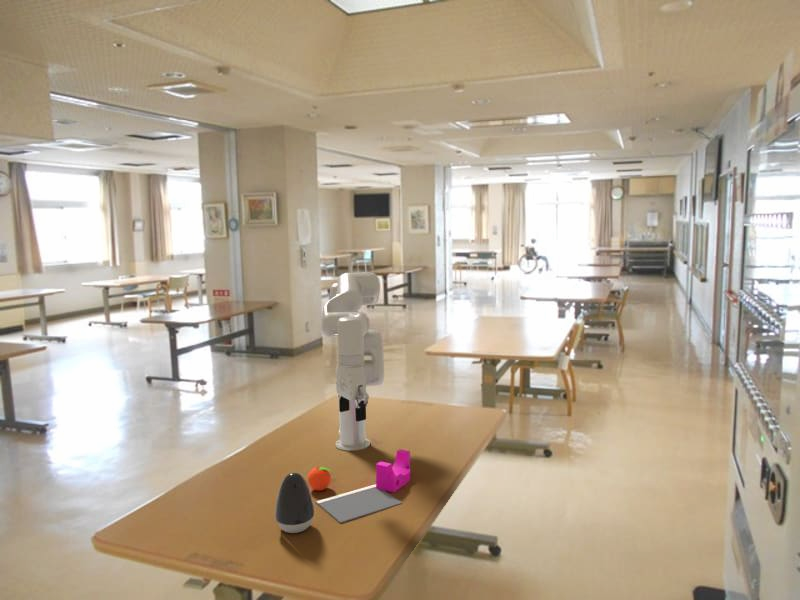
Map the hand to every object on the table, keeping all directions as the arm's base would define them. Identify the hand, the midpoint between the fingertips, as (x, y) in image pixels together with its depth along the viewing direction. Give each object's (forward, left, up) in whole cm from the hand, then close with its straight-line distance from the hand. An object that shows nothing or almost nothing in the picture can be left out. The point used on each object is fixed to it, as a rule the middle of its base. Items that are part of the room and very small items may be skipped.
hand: (352, 415), depth 176 cm
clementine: (-8, -7, -24) cm, 26 cm away
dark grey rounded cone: (+10, -23, -24) cm, 35 cm away
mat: (+7, -2, -24) cm, 25 cm away
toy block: (+1, +14, -24) cm, 28 cm away
